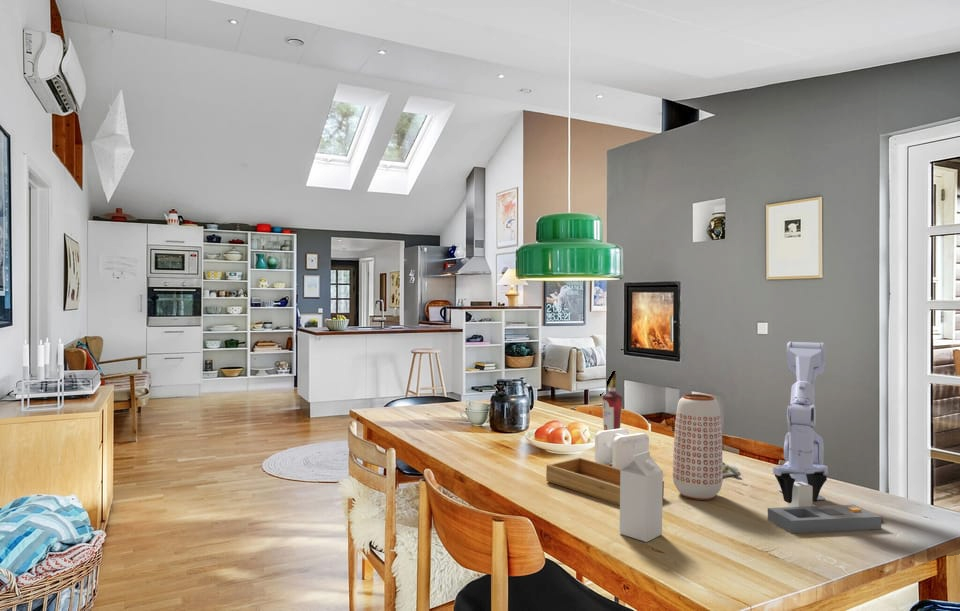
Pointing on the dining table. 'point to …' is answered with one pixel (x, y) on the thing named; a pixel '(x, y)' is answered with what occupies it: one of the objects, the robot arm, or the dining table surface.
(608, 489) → the tray
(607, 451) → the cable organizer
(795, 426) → the robot arm
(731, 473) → the salad plate
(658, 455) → the dining table surface
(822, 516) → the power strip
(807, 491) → the block
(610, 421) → the liquor
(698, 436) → the patterned ceramic vase
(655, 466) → the milk carton
